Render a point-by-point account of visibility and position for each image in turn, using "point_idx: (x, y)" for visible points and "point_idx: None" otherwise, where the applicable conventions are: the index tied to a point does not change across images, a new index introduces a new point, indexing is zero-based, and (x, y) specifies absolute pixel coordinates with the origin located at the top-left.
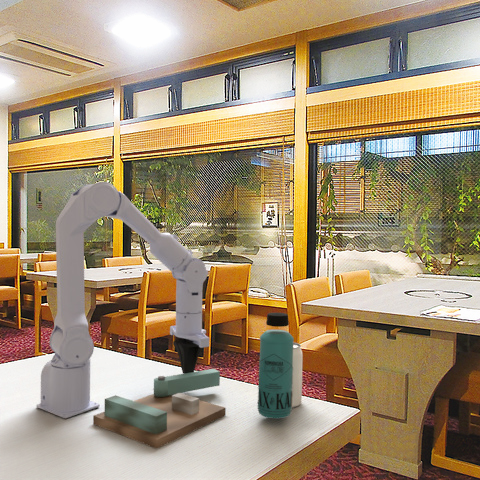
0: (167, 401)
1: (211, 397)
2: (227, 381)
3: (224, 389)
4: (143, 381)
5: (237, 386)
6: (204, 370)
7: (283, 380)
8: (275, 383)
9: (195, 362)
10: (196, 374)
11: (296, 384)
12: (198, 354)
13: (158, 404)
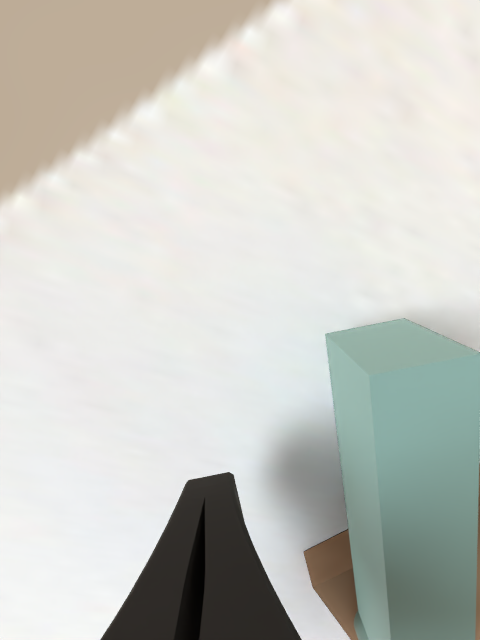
0: None
1: None
2: (165, 157)
3: (315, 246)
4: (43, 595)
5: (294, 132)
6: (385, 466)
7: None
8: None
9: (251, 543)
10: (451, 543)
11: None
12: (295, 632)
13: (478, 631)
